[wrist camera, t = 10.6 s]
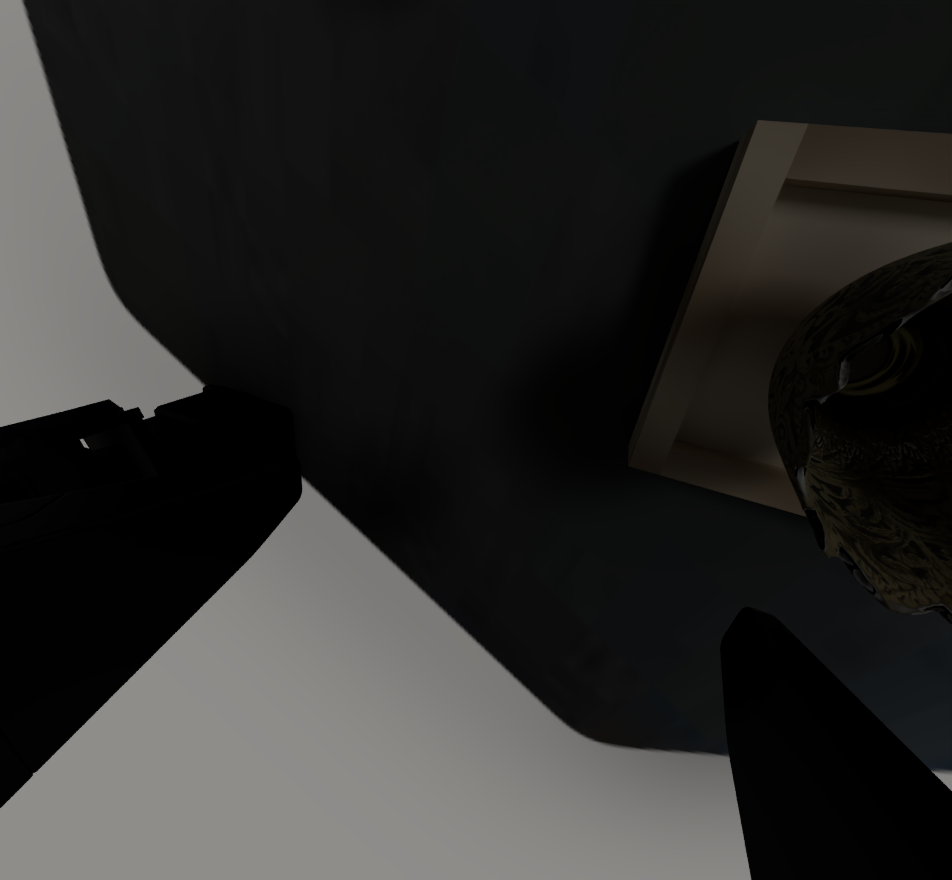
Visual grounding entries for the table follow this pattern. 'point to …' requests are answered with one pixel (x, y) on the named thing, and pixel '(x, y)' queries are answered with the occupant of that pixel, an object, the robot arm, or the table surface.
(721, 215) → the birch stand
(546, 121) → the table surface
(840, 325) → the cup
